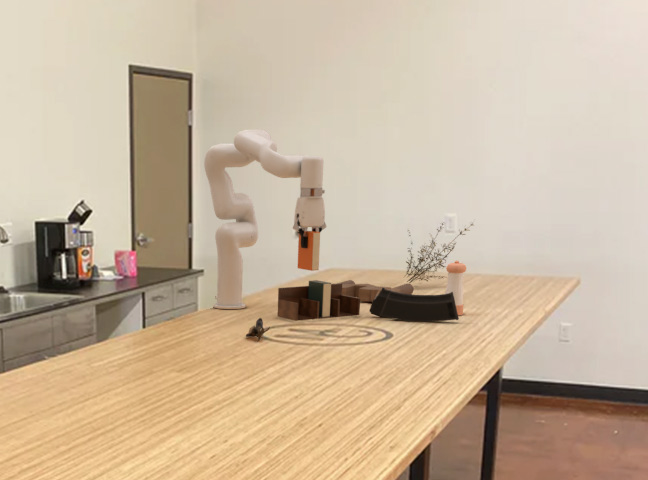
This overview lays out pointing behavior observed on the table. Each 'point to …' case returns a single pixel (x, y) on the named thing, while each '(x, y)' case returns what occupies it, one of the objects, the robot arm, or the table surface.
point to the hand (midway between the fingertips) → (308, 247)
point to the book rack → (314, 303)
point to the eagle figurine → (257, 330)
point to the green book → (320, 296)
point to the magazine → (414, 306)
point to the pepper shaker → (456, 283)
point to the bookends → (370, 290)
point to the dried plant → (430, 259)
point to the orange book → (309, 252)
